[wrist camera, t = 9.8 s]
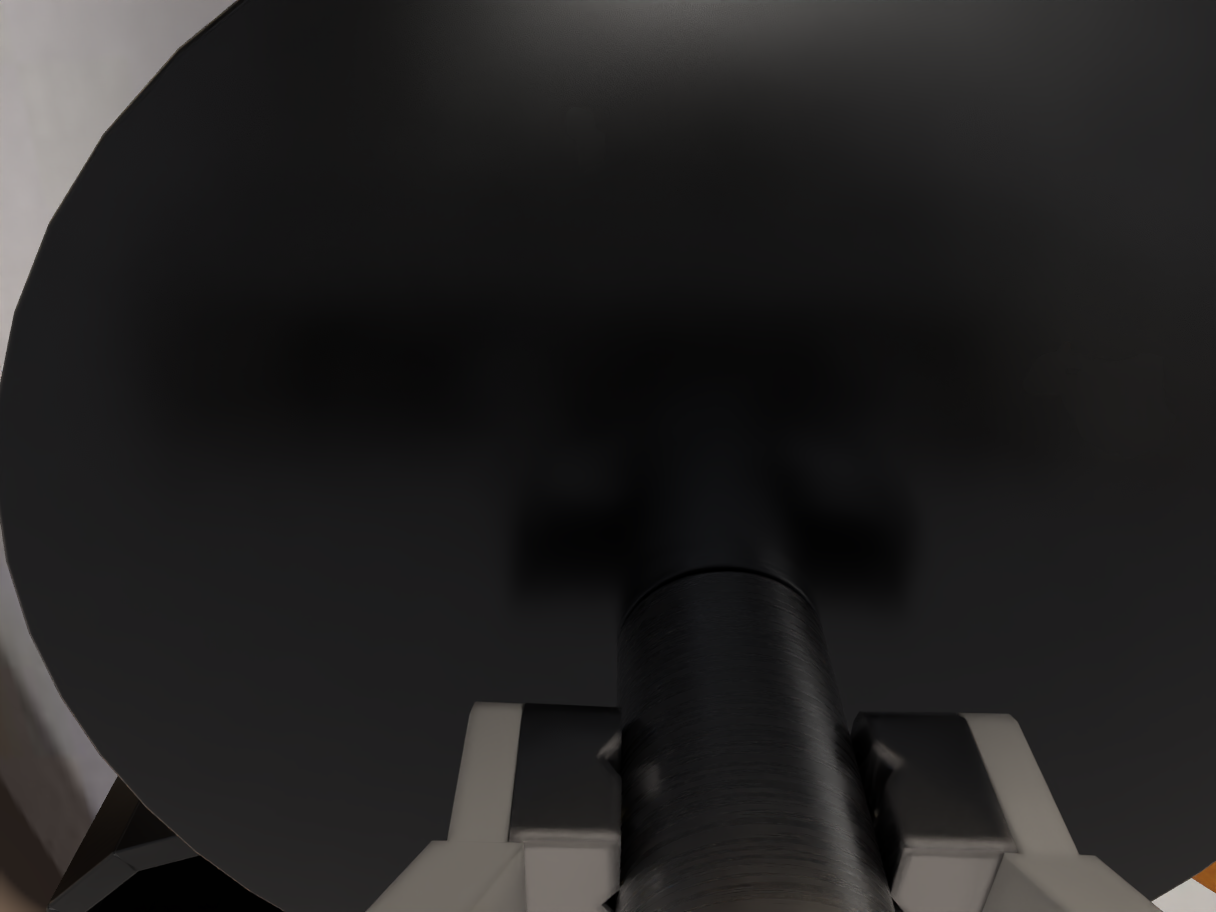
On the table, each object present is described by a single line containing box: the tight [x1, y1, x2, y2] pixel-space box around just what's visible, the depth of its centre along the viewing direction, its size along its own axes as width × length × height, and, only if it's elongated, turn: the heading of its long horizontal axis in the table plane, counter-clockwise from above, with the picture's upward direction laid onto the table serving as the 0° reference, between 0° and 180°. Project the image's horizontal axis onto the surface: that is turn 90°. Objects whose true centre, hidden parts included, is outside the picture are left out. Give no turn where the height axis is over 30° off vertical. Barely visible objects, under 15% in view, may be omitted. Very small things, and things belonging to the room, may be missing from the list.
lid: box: [0, 0, 1216, 912], centre depth 10 cm, size 16×16×6 cm
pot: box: [46, 776, 284, 912], centre depth 29 cm, size 15×21×8 cm
